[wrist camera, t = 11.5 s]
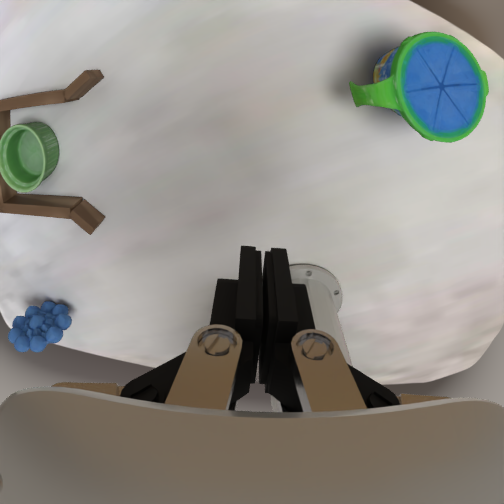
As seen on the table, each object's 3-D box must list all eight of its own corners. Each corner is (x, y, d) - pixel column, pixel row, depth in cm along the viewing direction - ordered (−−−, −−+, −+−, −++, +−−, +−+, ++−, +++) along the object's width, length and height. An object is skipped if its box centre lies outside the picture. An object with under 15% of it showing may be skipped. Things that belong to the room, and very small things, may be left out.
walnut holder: (105, 223, 38) (95, 235, 35) (14, 214, 37) (1, 224, 34) (104, 69, 28) (90, 69, 25) (3, 85, 27) (-13, 89, 24)
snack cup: (344, 130, 32) (377, 150, 23) (328, 41, 27) (358, 27, 18) (454, 121, 30) (504, 140, 22) (445, 42, 25) (497, 41, 16)
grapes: (38, 317, 48) (10, 362, 38) (26, 289, 44) (-7, 334, 34) (86, 325, 48) (60, 377, 38) (75, 296, 45) (44, 348, 35)
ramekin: (30, 190, 35) (13, 202, 31) (8, 136, 31) (-11, 145, 27) (72, 165, 34) (55, 177, 30) (49, 106, 29) (29, 111, 26)
